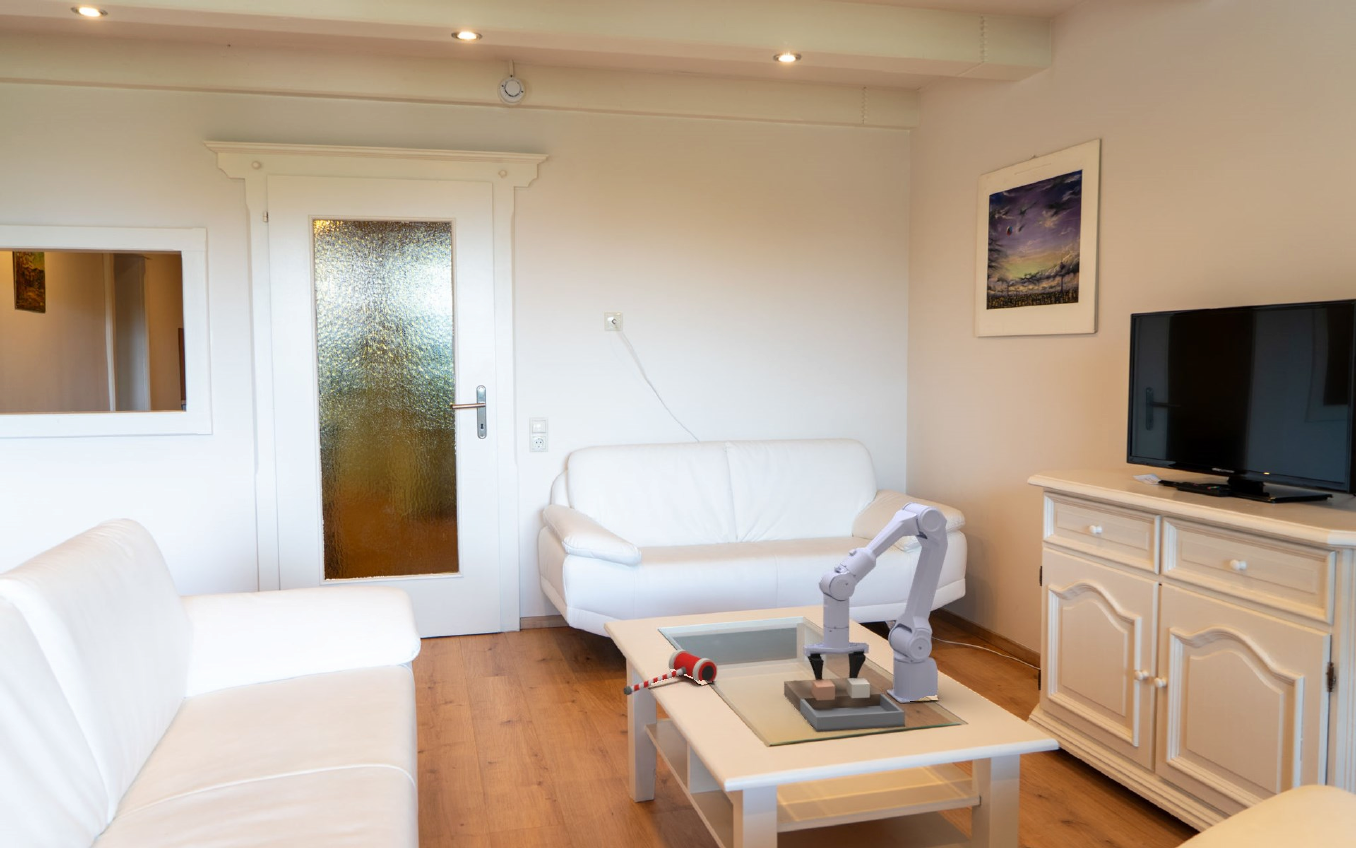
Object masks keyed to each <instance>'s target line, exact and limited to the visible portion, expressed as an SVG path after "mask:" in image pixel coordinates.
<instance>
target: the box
mask: <svg viewBox="0 0 1356 848" xmlns="http://www.w3.org/2000/svg"><path fill="white" fill-rule="evenodd" d="M799 713H800V714H801V715H802V716H803V718H804V719H805V720H806V721H807V722H808V724H810V726H811V727H812V728H813V729H814V730H815V732H817V733H820V732H836V731H850V730H866V729H867V730H868V729H878V728H879V729H881V728H882V729H883V728H895V727H896V728H897V727H898V728H899V727H905V725H906V723H905V722H906V720H905V719H906V712H905V711H904V710H903V709H902V708H901V707H899V706H898V705H897V704H896V703H895V702H894V701H892V700H891V699H890V698H889V697H888V696H886V695H885V694H884V693H883V694H880V706H866V707H850V708H834V709H817V710H814V709H813V708H812V707H811V706H810V705H809V704H808V703H807V702H806V701H805V700H804V699H800V712H799Z"/></svg>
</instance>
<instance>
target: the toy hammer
mask: <svg viewBox="0 0 1356 848" xmlns="http://www.w3.org/2000/svg"><path fill="white" fill-rule="evenodd" d="M669 668H670V669H675V670H676V671H673V672H671V671H670V672H668V673H665V674H663V675H660V676H657V677H654V678H652V679H648V680H646V681H643V682H640V683H637V684H635V685H632V686H630V685H628V686H624V687H623V689H622V690H623V694H624V695H626V696H629V695H632V694H633V693H634V692H635V693H636V692H637V691H640V690H643V689H645V688H649V687H651V686H652V685H651V683H655V682H657V681H661V680H664V679H668V680H670V679H669V678H671V679H673V678H676V677H679V675H680V676H682V675H684V674H687V675H688V676H691V677H693V679H695V680H697V681H699V680H700V681H702V680H707V681H714V682H715V680H716V679H717V676H718V665H717V663H716V662H715V660H713V659H711V658H708V657H703V658H701V657H698V656H696V655H693V654H691V652H689V651H688V650H685V649H682V648H681V649H680V648H679V649H677V650H675V651H673V653H672V654H671V655H670V657H669V660H668V669H669ZM670 669H669V670H670ZM675 676H676V677H675ZM672 677H673V678H672Z"/></svg>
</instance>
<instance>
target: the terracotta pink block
mask: <svg viewBox="0 0 1356 848" xmlns="http://www.w3.org/2000/svg"><path fill="white" fill-rule="evenodd" d="M830 679H831V678H822V679H820V680H816V679H811V680H812V694H813V696H814V697H815V698H816V700H833V699H835V685H834V684H833V683H832V682H831V680H830Z"/></svg>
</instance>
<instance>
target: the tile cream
mask: <svg viewBox="0 0 1356 848" xmlns="http://www.w3.org/2000/svg"><path fill="white" fill-rule="evenodd" d="M846 678H847V693H848V694H849V695H850V697H851V698H867V697H870V684H869V680H867V679H866V678H865V677H864V678H849V677H846Z"/></svg>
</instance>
